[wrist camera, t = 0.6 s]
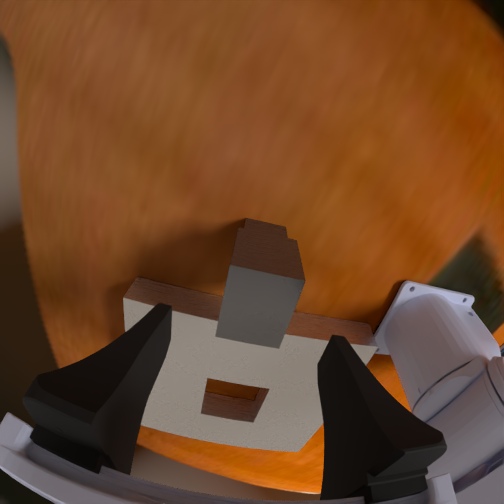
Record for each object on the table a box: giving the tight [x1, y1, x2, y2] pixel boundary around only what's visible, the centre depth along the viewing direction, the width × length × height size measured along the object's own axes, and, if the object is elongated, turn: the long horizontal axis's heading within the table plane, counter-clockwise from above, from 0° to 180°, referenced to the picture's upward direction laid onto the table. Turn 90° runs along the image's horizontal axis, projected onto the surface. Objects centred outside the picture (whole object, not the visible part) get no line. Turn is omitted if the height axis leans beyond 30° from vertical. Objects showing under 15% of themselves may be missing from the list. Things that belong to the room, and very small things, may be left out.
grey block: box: [215, 218, 305, 349], centre depth 18 cm, size 4×4×8 cm
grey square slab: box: [123, 277, 378, 452], centre depth 26 cm, size 20×20×3 cm
